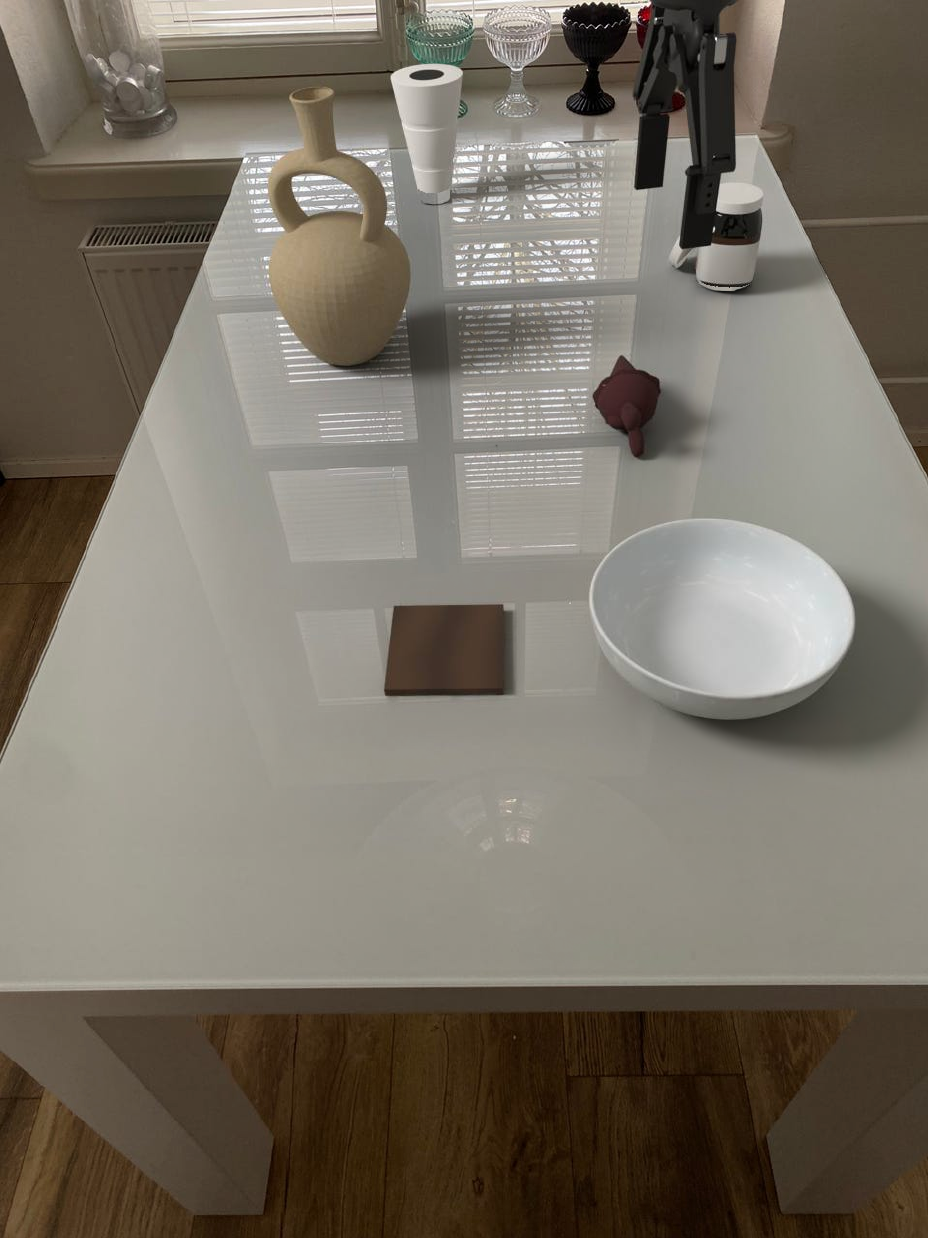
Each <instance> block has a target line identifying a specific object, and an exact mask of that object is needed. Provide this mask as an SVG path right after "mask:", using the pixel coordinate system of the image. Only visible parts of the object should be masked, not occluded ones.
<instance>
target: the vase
mask: <svg viewBox="0 0 928 1238" xmlns="http://www.w3.org/2000/svg"><path fill="white" fill-rule="evenodd" d="M335 94H336V93H335V91H334V90H333V89H332V88H330V87H325V86H310V87H309V86H308V87H304V88H299V89H297V90H295V91H293V92H291V94H290V95H289V100H290V102H291V103H290V104H291V105H292V107H293V109H294V111H295V115H296V118H297V121H298V125H299V130H300V133H301V137H302V144H303V147H302V148H299V149H295V150H291V151H289V152H288V153H286V154H284V155H283V156H280V158H279V159H278V160H277V161H276V162H275V163H274V165H273V166H272V168H271V170H270V173H269V175H268V180H267V197H268V200H269V205H270V208H271V210H272V213H273V215H274V217H275V219H276V221H277V222H278V223H279V225H280V226H281V227H282V229H283V230H284V231H283V233H282V234H281V235H280V236H279V237H278V238H277V239H276V242H275V243H274V245H273V247H272V250H271V252H270V255H269V259H268V269H267V270H268V272H267V273H268V281H269V286H270V290H271V293H272V297H273V299H274V302H275V304H276V306H277V308H278V310H279V311H280V314H281V315H282V317H283V320H284V321H285V322H286V324H287V326H288V327H289V329H290V330H291V331H292V333H293V335H295V336H296V338H297V339H298V341H299V342H300V343H301V344H302V345H303V346H304V347H305V348H306V350H307V351H309V352H310V353H311V354H312V355H313V356H315V357H316V358H317V359H319V360H320V361H323V362H325V363H327V364H331V365H335V366H344V367H349V366H355V365H360V364H364V363H365V362H368V361H370V360H372V359H373V358H375V357H376V356H378V355H379V354H380V353H381V352H382V351H383V350H384V348H385V347H386V346H387V345H388V343H389V341H390V340H391V339H392V337H393V335H394V333H395V331H396V329H397V326H398V324H399V322H400V320H401V318H402V316H403V313H404V310H405V308H406V304H407V301H408V297H409V292H410V286H411V276H412V274H411V264H410V259H409V254H408V252H407V249H406V247H405V245H404V244H403V242H402V240H401V238H400V237H399V236H398V234H396V233H395V232H394V231H393V230H392V229H391V227H389V226H388V225H386V219H387V215H388V200H387V195H386V193H387V192H386V189H385V187H384V185H383V183H382V181H381V180H380V178H379V177H378V175H377V174H376V173H375V172H374V170H373V169H372V168H371V167H369V165H367V164H366V163H365V162H363V161H362V160H360V159H359V158H357V157H355V156H353V155H350V154H347V153H345V152H343V151H340V150H338V149H337V142H336V135H335V134H336V133H335V124H334V101H335ZM310 174H312V175H313V174H314V175H322V176H327V177H330V178H333V179H336V180H338V181H341V182H342V183H344V184H346V185H347V186H349V187H350V188H351V189H352V190H353V191H354V192H355V193H356V195H357V196H358V198H359V200H360V202H361V206H362V213H360V212H357V211H356V212H355V211H348V210H329V211H322V212H318V213H314V214H311V215H308V214H307V213H306V212H305V211H304V210H303V208H302V207H301V205H300V203H298V200H297V199H296V197H295V194H294V190H293V185H292V184H293V178H294V177H299V176H301V175H310Z"/></svg>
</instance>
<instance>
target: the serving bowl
mask: <svg viewBox="0 0 928 1238" xmlns="http://www.w3.org/2000/svg"><path fill="white" fill-rule="evenodd" d="M588 606H589V607H588V609H589V614H590V621H591V624H592V628H593V633H594V635H595V637H596V640H597V643H598V645H599V647H600V649H601V651H602V653H603V654H604V656H605V658H606V659H607V661H608V663H609V664H610V665H611V666H612V667H613V669H614V671H615V672H617V673H618V675H619V676H620V677H621V678H622V679H623V680H624V681H626V682H627V683H628V684H629V685H630V686H631V687H632V688H634V689H635V690H636V691H637V692H639V693H641V694H642V695H644V696H645V697H647V698H649V699H650V700H652V701H654V702H656V703H657V704H660V705H661V706H664V707H666V708H667V709H668V708H669V709H670V710H671V709H672V710H674V711H676V712H680V713H683V714H686V715H690V716H694V717H698V718H699V717H700V718H704V719H712V720H713V719H714V720H745V719H753V718H759V717H764V716H768V715H769V716H770V715H772V714H775V713H778V712H781V711H784V710H786V709H788V708H791V707H793V706H795V705H797V704H799V703H801V702H803V701H804V700H805V699H807V698H809V697H810V696H811V695H813V694H814V693H816V692H817V691H818V690H820V688H821V687H823V686H824V685H825V684H826V683H827V681H829V679H830V678H831V677H832V676H833V675H834V674H835V672H836V671H837V670H838V668H839V667H840V665H841V664H842V662H843V660H844V659H845V657H846V655H847V654H848V652H849V650H850V648H851V645H852V643H853V640H854V636H855V631H856V610H855V605H854V602H853V599H852V596H851V593H850V591H849V589H848V587H847V585H846V584H845V582H844V580H843V579H842V577H841V576H840V575H839V573H838V572H837V571H836V570H835V569H834V568H833V567H832V565H831V564H829V562H827V561H826V560H825V559H824V558H823V557H822V556H821V555H820V554H818V553H817V552H815V551H814V549H811V548H810V547H809V546H807V545H806V544H803V543H801V542H800V541H798V540H796V539H794V538H792V537H790V536H788V535H786V534H783V533H782V532H779V531H777V530H774V529H771V528H769V527H765V526H762V525H758V524H755V523H751V522H747V521H742V520H734V519H728V518H727V519H726V518H712V517H711V518H709V517H708V518H707V517H706V518H705V517H704V518H701V517H700V518H687V519H679V520H673V521H668V522H663V523H660V524H656V525H653V526H651V527H647V528H645V529H642V530H639V531H638V532H636V533H634V534H633V535H631V536H628V537H627V538H626V539H624V540H623V541H621V542H620V543H618V544H617V545H616V546H614V547H613V548H612V549H611V550H610V551H609V552H608V553H607V554H606V556H605V557H604V558H603V559H602V560H601V562H600V563H599V565H598V567H597V568H596V570H595V572H594V574H593V576H592V579H591V582H590V586H589V593H588Z"/></svg>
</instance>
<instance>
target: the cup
mask: <svg viewBox="0 0 928 1238" xmlns="http://www.w3.org/2000/svg"><path fill="white" fill-rule="evenodd" d="M463 76H464V72H463V70H462V69H461V68H460V67H458V66H454V65H450V64H445V63H422V64H415V65H410V66H405V67H402V68H400V69H398V70H396V71H394V72H393V73H391V75H390V82H391V85H392V90H393V94H394V98H395V101H396V106H397V111H398V114H399V118H400V120H401V127H402V130H403V134H404V138H405V142H406V147H407V150H408V154H409V158H410V161H411V166H412V171H413V175H414V180H415V183H416V187H417V190H418V189H419V190H420V191H423V192H425V193H440V192H443V191H445V190H448V189H449V188H450V187H451V188H452V186H451V185H452V184H453V173H454V164H455V163H454V159H455V153H456V143H457V136H458V135H457V134H458V133H457V132H458V125H459V114H460V105H461V96H462V86H463Z"/></svg>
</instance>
